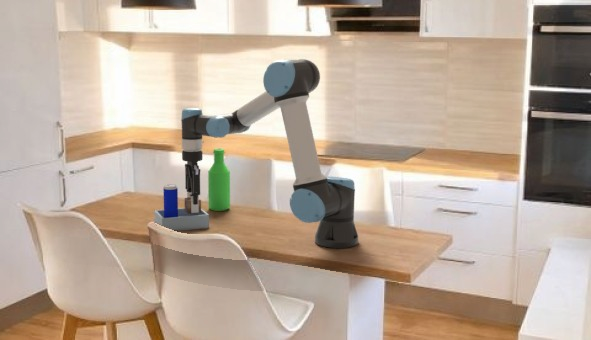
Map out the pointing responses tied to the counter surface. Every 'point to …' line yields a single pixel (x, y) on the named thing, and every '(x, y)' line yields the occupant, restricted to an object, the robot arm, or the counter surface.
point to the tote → (183, 220)
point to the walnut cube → (188, 205)
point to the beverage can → (170, 201)
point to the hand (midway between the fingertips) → (192, 210)
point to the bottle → (219, 183)
